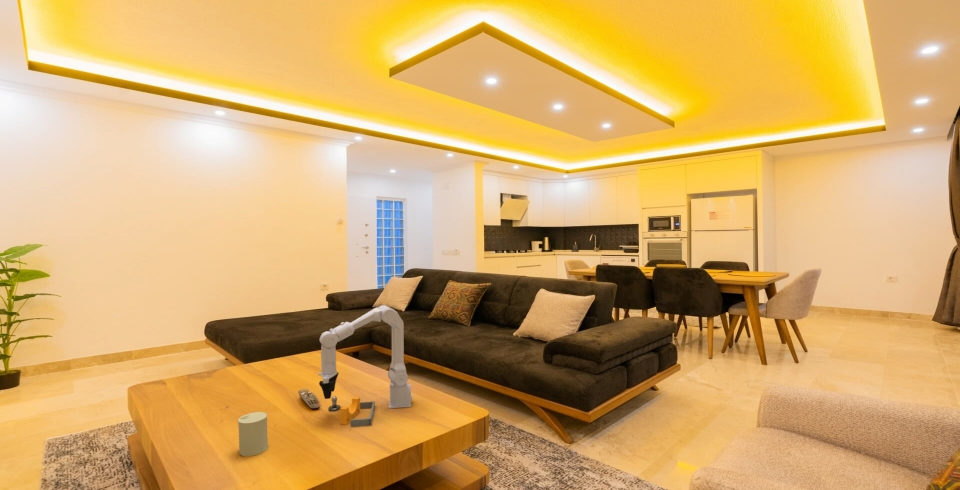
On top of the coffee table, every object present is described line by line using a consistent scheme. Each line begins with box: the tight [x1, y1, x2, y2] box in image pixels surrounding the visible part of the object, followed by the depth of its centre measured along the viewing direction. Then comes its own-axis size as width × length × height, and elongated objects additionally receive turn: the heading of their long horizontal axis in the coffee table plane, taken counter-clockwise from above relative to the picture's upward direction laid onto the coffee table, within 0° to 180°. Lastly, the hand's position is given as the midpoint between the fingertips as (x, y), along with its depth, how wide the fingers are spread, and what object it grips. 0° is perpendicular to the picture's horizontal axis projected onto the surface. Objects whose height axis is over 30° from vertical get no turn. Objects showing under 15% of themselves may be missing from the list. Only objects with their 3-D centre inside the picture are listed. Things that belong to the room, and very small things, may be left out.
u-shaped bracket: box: [349, 401, 376, 428], centre depth 179 cm, size 8×18×3 cm, turn 9°
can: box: [237, 411, 269, 457], centre depth 153 cm, size 9×9×12 cm
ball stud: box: [327, 395, 341, 412], centre depth 187 cm, size 5×5×6 cm
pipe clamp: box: [339, 396, 361, 426], centre depth 178 cm, size 12×4×6 cm, turn 169°
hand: (329, 394), depth 177 cm, fingers open, 7 cm apart
